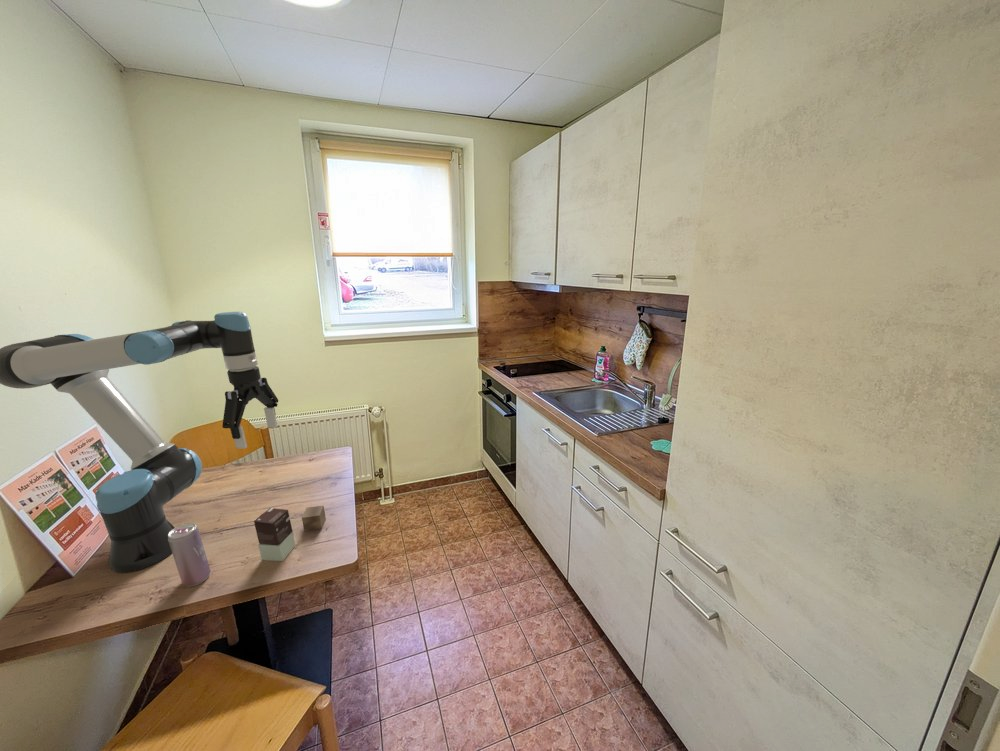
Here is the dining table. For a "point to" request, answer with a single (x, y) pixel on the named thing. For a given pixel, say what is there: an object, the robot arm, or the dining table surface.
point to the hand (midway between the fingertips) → (258, 437)
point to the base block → (277, 549)
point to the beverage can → (189, 554)
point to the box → (273, 526)
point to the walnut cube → (313, 518)
